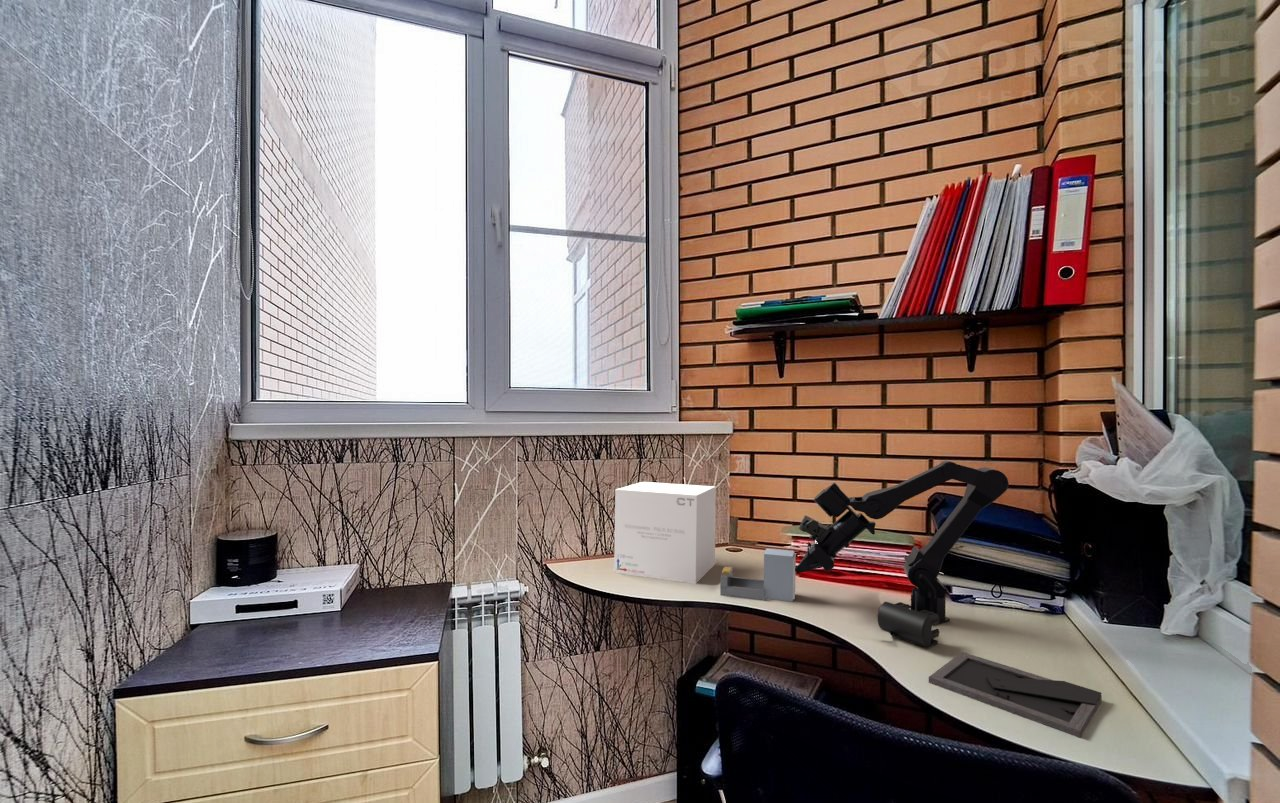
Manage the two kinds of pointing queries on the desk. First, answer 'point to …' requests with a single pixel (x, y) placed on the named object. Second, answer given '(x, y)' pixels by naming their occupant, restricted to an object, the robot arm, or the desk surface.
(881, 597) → the desk surface
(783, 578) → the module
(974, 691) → the picture frame
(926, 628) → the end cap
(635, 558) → the cube
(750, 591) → the rack deck
